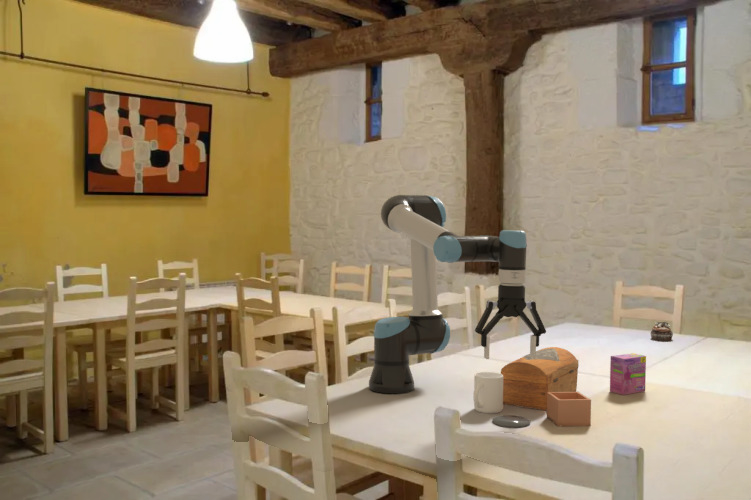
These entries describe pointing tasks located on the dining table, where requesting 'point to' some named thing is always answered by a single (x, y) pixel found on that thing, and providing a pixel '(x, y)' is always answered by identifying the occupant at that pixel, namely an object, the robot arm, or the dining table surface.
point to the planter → (569, 408)
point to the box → (627, 373)
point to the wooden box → (539, 377)
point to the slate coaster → (511, 421)
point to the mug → (488, 392)
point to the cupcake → (661, 332)
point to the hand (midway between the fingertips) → (509, 358)
